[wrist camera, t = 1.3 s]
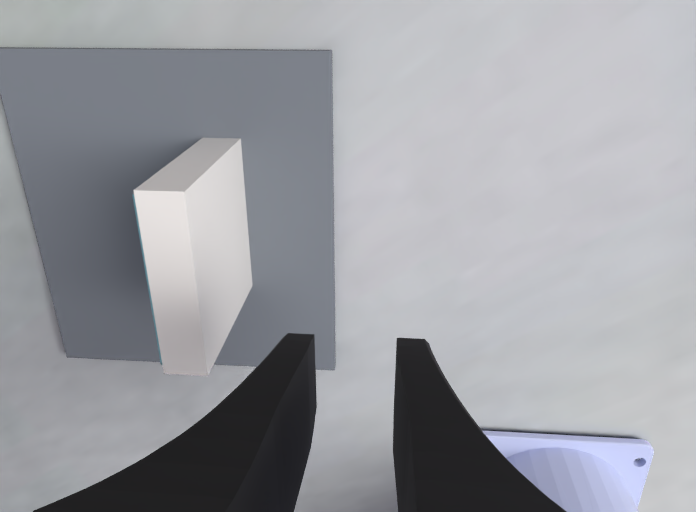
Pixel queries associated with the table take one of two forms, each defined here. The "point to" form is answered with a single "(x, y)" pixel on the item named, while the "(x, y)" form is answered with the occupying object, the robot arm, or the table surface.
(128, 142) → the mat
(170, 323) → the tile
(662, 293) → the table surface
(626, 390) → the table surface
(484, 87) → the table surface
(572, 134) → the table surface
